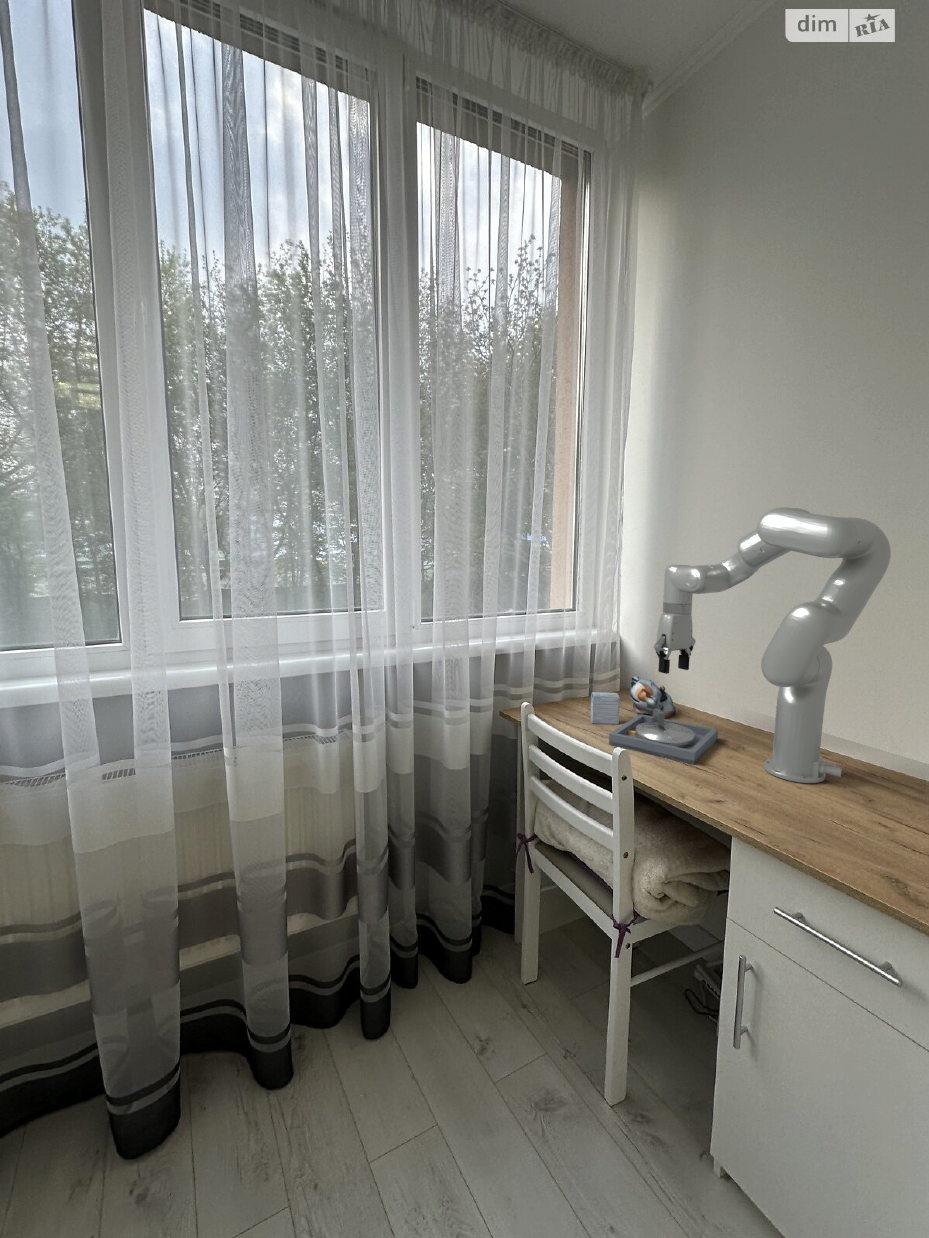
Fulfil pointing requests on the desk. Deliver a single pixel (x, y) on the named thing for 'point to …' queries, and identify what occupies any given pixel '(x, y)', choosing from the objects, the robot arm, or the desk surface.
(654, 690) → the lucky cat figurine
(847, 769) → the desk surface
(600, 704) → the medicine box
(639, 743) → the square tray
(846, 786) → the desk surface
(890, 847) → the desk surface
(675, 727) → the dial
